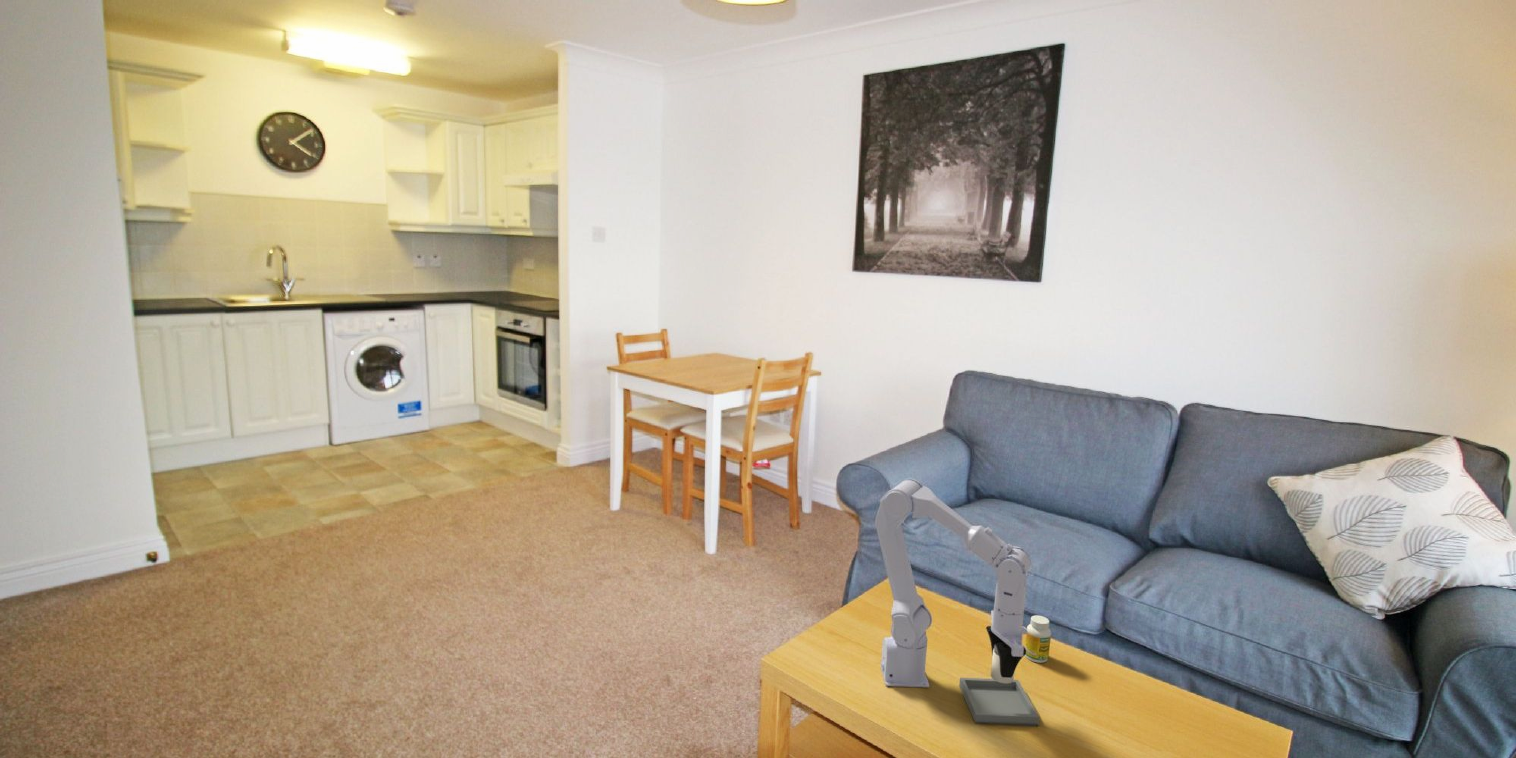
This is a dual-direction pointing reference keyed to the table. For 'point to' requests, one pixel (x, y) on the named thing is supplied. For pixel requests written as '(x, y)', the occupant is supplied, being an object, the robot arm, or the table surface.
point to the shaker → (998, 668)
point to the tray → (998, 702)
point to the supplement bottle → (1038, 639)
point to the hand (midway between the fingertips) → (1002, 669)
